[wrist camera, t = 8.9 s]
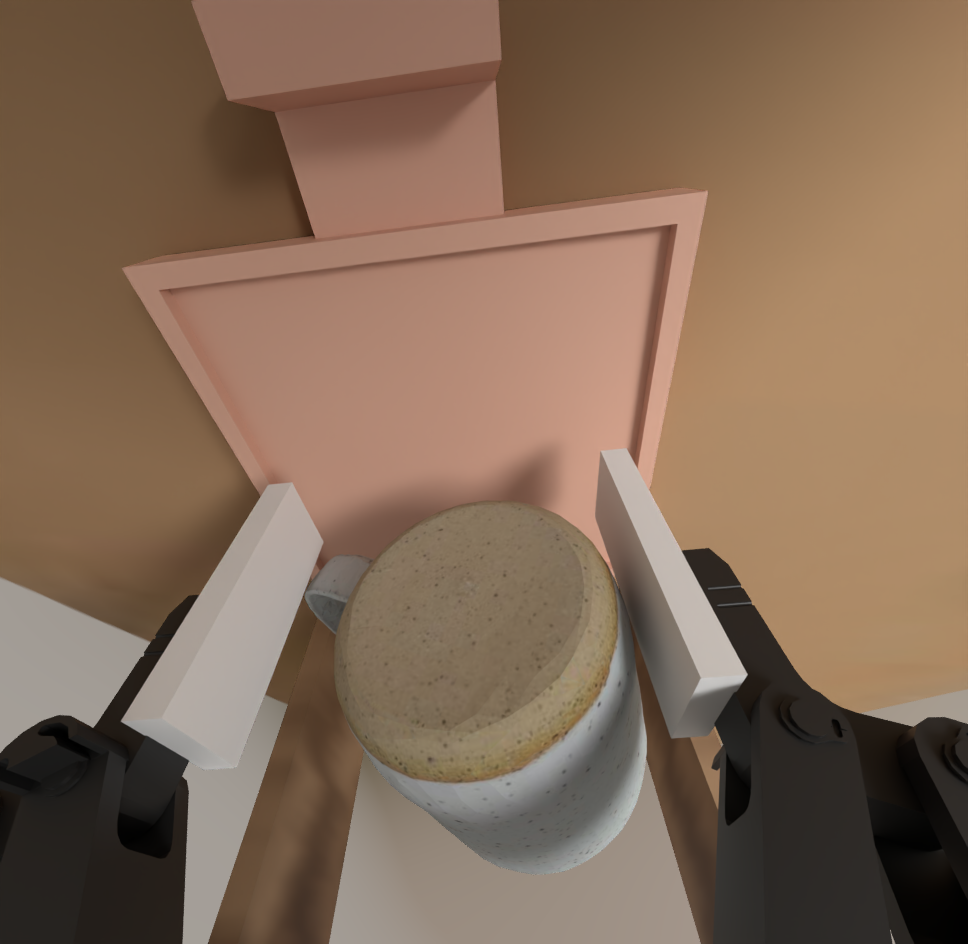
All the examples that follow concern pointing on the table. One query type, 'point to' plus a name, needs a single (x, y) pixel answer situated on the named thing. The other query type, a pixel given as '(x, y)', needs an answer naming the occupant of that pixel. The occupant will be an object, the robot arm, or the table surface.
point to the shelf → (331, 795)
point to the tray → (419, 285)
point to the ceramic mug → (493, 680)
